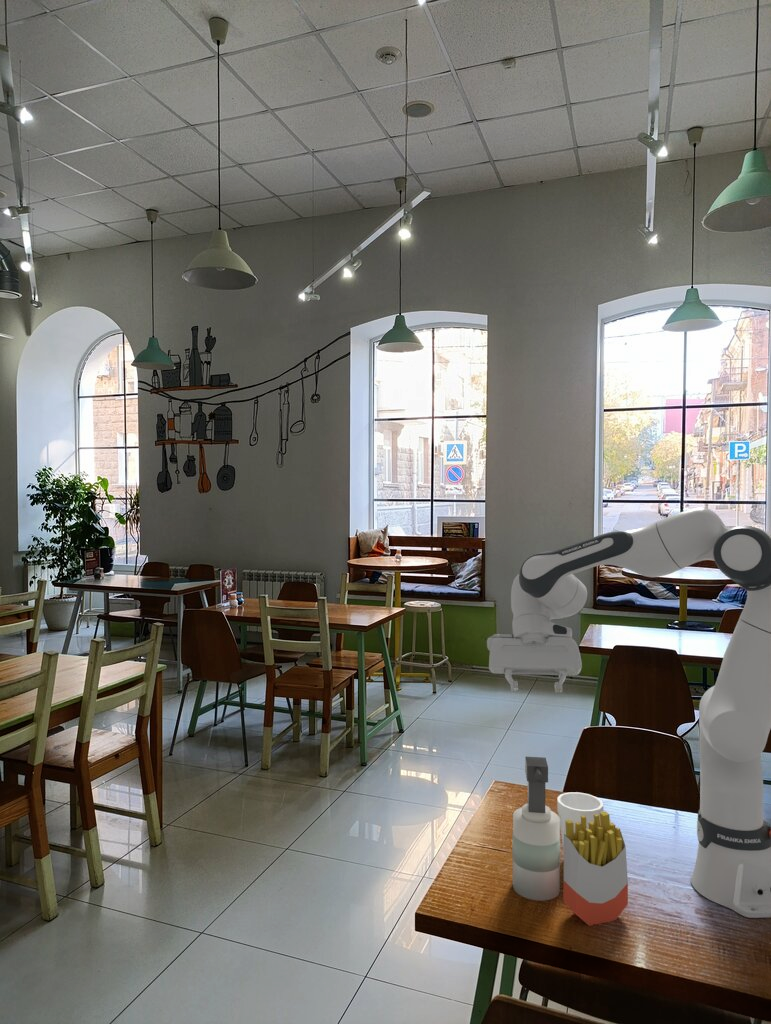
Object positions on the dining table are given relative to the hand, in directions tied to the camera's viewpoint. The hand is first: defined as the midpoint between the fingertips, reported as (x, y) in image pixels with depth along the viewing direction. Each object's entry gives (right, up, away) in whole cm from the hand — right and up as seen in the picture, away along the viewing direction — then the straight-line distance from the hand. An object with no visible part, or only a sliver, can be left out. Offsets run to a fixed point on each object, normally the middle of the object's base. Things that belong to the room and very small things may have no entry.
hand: (536, 690), depth 144 cm
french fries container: (+6, -36, -22) cm, 42 cm away
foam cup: (+8, -36, -3) cm, 37 cm away
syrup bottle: (-3, -36, -13) cm, 38 cm away
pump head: (-3, -20, -15) cm, 25 cm away
